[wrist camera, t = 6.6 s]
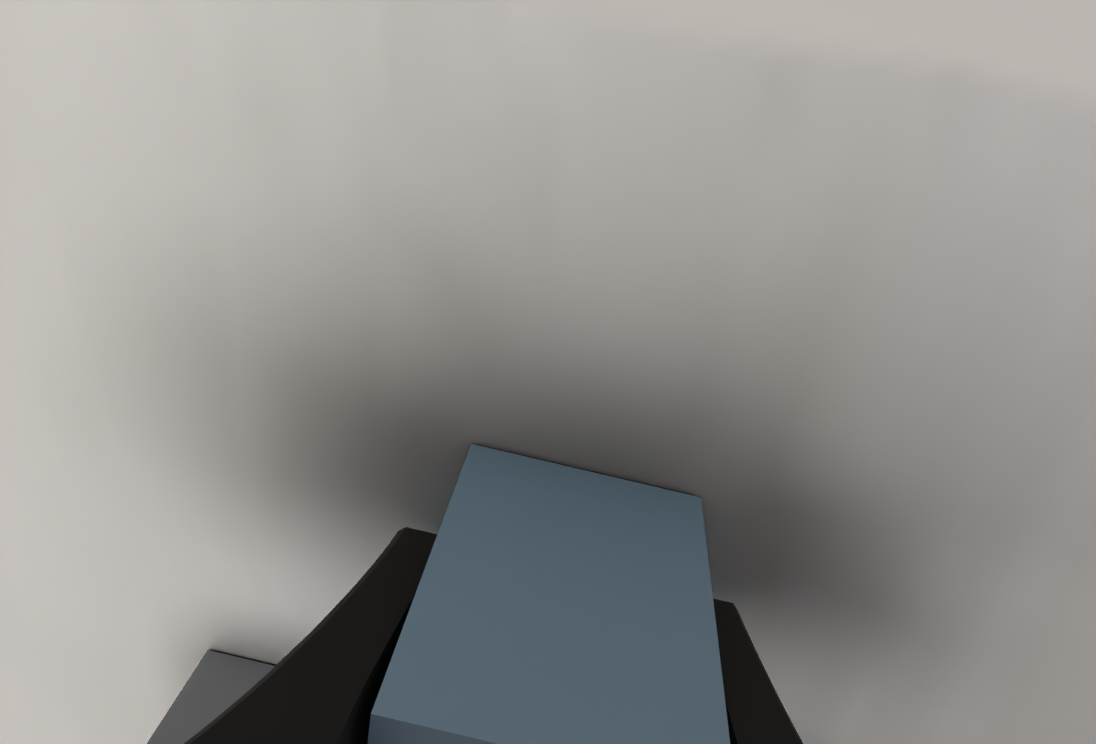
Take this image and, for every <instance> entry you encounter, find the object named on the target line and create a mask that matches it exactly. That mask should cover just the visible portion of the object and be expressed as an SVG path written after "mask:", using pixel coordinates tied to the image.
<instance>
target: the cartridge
mask: <svg viewBox="0 0 1096 744" xmlns="http://www.w3.org/2000/svg"><path fill="white" fill-rule="evenodd" d="M368 744H730V737H729V729H728V720H727V712H726V703H725V695H724V687H723V678H722V670H721V661H720V653H719V644H718V636H717V628H716V619H715V611H714V602H713V594H712V585H711V577H710V568H709V560H708V552H707V543H706V535H705V526H704V518H703V509H702V501H701V497H697V496H692V495H688V494H684V493H679V492H675V491H671V490H667V489H662V488H658V487H654V486H649V485H645V484H641V483H637V482H632V481H628V480H624V479H620V478H615V477H611V476H607V475H602V474H598V473H594V472H590V471H585V470H581V469H577V468H572V467H568V466H564V465H560V464H555V463H551V462H547V461H543V460H538V459H534V458H530V457H525V456H521V455H517V454H513V453H508V452H504V451H500V450H495V449H491V448H487V447H483V446H478V445H474V444H471V445H470V448H469V451H468V453H467V456H466V459H465V461H464V464H463V467H462V470H461V472H460V475H459V478H458V480H457V483H456V486H455V488H454V491H453V494H452V497H451V499H450V502H449V505H448V507H447V510H446V513H445V515H444V518H443V521H442V523H441V526H440V529H439V532H438V534H437V537H436V540H435V542H434V545H433V548H432V550H431V553H430V556H429V559H428V561H427V564H426V567H425V569H424V572H423V575H422V577H421V580H420V583H419V585H418V588H417V591H416V594H415V596H414V599H413V602H412V604H411V607H410V610H409V612H408V615H407V618H406V620H405V623H404V626H403V629H402V631H401V634H400V637H399V639H398V642H397V645H396V647H395V650H394V653H393V656H392V658H391V661H390V664H389V666H388V669H387V672H386V674H385V677H384V680H383V682H382V685H381V688H380V691H379V693H378V696H377V699H376V701H375V704H374V707H373V709H372V712H371V717H370V726H369V735H368Z"/></svg>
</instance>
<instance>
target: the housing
mask: <svg viewBox="0 0 1096 744" xmlns="http://www.w3.org/2000/svg"><path fill="white" fill-rule="evenodd" d="M274 667H275V666H273V665H269V664H265V663H261V662H256V661H252V660H248V659H244V658H239V657H235V656H231V655H227V654H222V653H218V652H214V651H210V650H208V651H207V652H206V654H205V655H204V657H203V658H202V660H201V662H200V663H199V665H198V666H197V668H196V669H195V671H194V672H193V674H192V675H191V677H190V678H189V680H188V681H187V683H186V685H185V686H184V688H183V689H182V691H181V692H180V694H179V695H178V697H177V698H176V700H175V701H174V703H173V704H172V706H171V708H170V709H169V711H168V712H167V714H166V715H165V717H164V718H163V720H162V721H161V723H160V724H159V726H158V727H157V729H156V731H155V732H154V734H153V735H152V737H151V738H150V740H149V741H148V743H147V744H184V743H185V742H186V741H188V740H189V739H190V738H192V737H193V736H194V735H195V734H197V733H198V732H199V731H201V730H202V729H203V728H204V727H206V726H207V725H208V724H209V723H211V722H212V721H213V720H214V719H215V718H217V717H218V716H219V715H220V714H221V713H223V712H224V711H225V710H226V709H227V708H229V707H230V706H231V705H232V704H233V703H235V702H236V701H237V700H238V699H239V698H240V697H242V696H243V695H244V694H245V693H246V692H247V691H248V690H250V689H251V688H252V687H253V686H254V685H255V684H256V683H258V682H259V681H260V680H261V679H262V678H263V677H264V676H265V675H266V674H268V673H269V672H270V671H271V670H272V669H273V668H274Z"/></svg>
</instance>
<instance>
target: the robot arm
mask: <svg viewBox="0 0 1096 744" xmlns="http://www.w3.org/2000/svg"><path fill="white" fill-rule="evenodd" d="M436 537H437V534H433V533H428V532H424V531H420V530H415V529H411V528H407V527H406V528H404V529H402V530H400V531H398V532H397V534H396V535H395V537H394V538H393V539H392V541H391V542H390V544H389V545H388V546H387V547H386V549H385V550H384V551H383V553H382V554H381V555H380V556H379V558H378V559H377V560H376V561H375V563H374V564H373V565H372V566H371V567H370V569H369V570H368V571H367V572H366V573H365V574H364V576H363V577H362V578H361V579H360V580H359V581H358V582H357V584H356V585H355V586H354V587H353V588H352V589H351V590H350V592H349V593H348V594H347V595H346V596H345V597H344V598H343V599H342V600H341V601H340V602H339V603H338V604H337V605H336V606H335V608H334V609H333V610H332V611H331V612H330V613H329V614H328V615H327V616H326V617H325V618H324V619H323V620H322V621H321V622H320V623H319V624H318V625H317V627H316V628H315V629H314V630H313V631H312V632H311V633H310V634H309V635H308V636H306V637H305V638H304V639H303V640H302V641H301V642H300V643H299V644H298V645H297V646H296V647H295V648H294V649H293V650H292V651H291V652H290V653H289V654H288V655H287V656H285V657H284V658H283V659H282V660H281V661H280V662H279V663H278V664H277V665H276V666H275V667H274V668H273V669H272V670H271V671H270V672H269V673H268V674H266V675H265V676H264V677H263V678H262V679H261V680H260V681H259V682H258V683H256V684H255V685H254V686H253V687H252V688H251V689H250V690H248V691H247V692H246V693H245V694H244V695H243V696H242V697H240V698H239V699H238V700H237V701H236V702H235V703H233V704H232V705H231V706H230V707H229V708H227V709H226V710H225V711H224V712H223V713H221V714H220V715H219V716H218V717H217V718H215V719H214V720H213V721H212V722H211V723H209V724H208V725H207V726H206V727H204V728H203V729H202V730H201V731H199V732H198V733H197V734H195V735H194V736H193V737H192V738H190V739H189V740H188V741H186V742H185V743H184V744H368V735H369V726H370V717H371V712H372V709H373V707H374V704H375V701H376V699H377V696H378V693H379V691H380V688H381V685H382V682H383V680H384V677H385V674H386V672H387V669H388V666H389V664H390V661H391V658H392V656H393V653H394V650H395V647H396V645H397V642H398V639H399V637H400V634H401V631H402V629H403V626H404V623H405V620H406V618H407V615H408V612H409V610H410V607H411V604H412V602H413V599H414V596H415V594H416V591H417V588H418V585H419V583H420V580H421V577H422V575H423V572H424V569H425V567H426V564H427V561H428V559H429V556H430V553H431V550H432V548H433V545H434V542H435V540H436ZM713 602H714V611H715V619H716V628H717V636H718V644H719V653H720V661H721V670H722V678H723V687H724V695H725V703H726V712H727V720H728V729H729V737H730V744H803V743H802V741H801V739H800V737H799V735H798V733H797V731H796V729H795V727H794V726H793V724H792V722H791V720H790V718H789V716H788V714H787V712H786V711H785V709H784V707H783V705H782V703H781V701H780V699H779V697H778V695H777V693H776V691H775V689H774V687H773V685H772V683H771V681H770V679H769V677H768V675H767V672H766V670H765V668H764V666H763V664H762V662H761V660H760V658H759V656H758V654H757V652H756V650H755V647H754V645H753V643H752V641H751V639H750V637H749V635H748V632H747V630H746V628H745V626H744V624H743V622H742V619H741V617H740V615H739V613H738V611H737V609H736V607H735V606H734V604H733V603H730V602H725V601H721V600H717V599H713Z"/></svg>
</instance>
